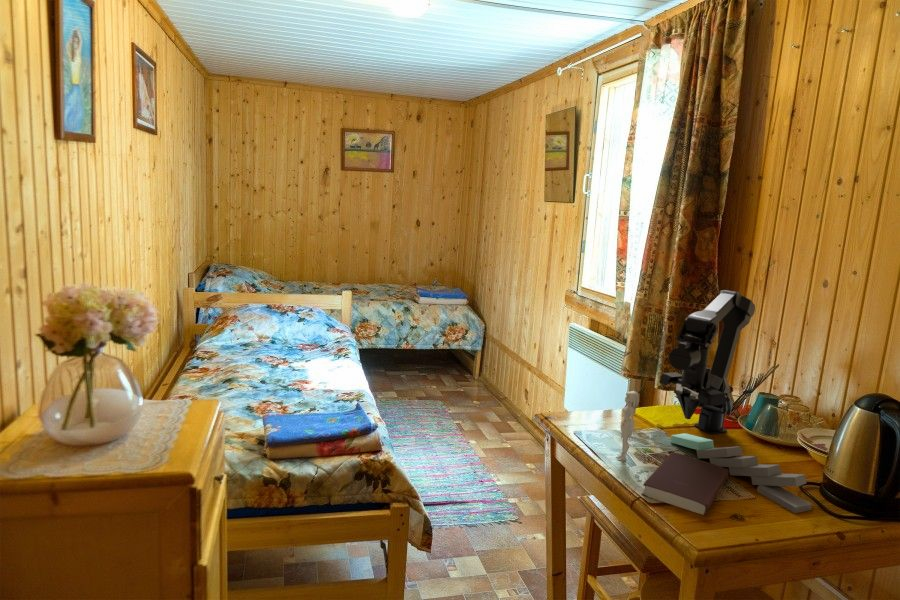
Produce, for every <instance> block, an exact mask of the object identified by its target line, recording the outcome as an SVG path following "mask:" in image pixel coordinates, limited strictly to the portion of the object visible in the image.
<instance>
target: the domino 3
mask: <svg viewBox="0 0 900 600" xmlns="http://www.w3.org/2000/svg"><path fill="white" fill-rule="evenodd" d="M728 470H729V475H730V476H741V477H742V476H743V477H744V476H745V477H751V476H765V477H769V476H773V475H777V474H782V470H781V465H780V464H761V463H758V465H755V466H749V467H744V468H739V467H728Z"/></svg>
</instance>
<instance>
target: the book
mask: <svg viewBox="0 0 900 600" xmlns="http://www.w3.org/2000/svg"><path fill="white" fill-rule="evenodd" d="M729 475H730V471H729V468H726V467H720V466H717V465H714V464H711V463H710V462H708V461H704V460H701V459H700V458H699V459H698V458H695V457H691V456H689V455H685V454H681V453H678V452H673V451H671V452H670V453H669V454H668V455H667V456H666V458H665V459H664V460H663V461H662V462H661V464H660V465H658V466H657V468H656V469H655V471H654V472H653V473H652V474H651V475H650V476H649V477H648V478H647V479H646V480H645V481H644V483H643V485H642V486H643V487H644V490H643V492H642V493H641V494H640V495H641V496H643V497H646V498H651V499H654V500H656V501H660V502H662V503H666V504H668V505H672V506H675V507H678V508H680V509H681V508H682V509H685V510H687V511H691V512H693V513H696V514H699V515H701V516H706V515H707V513H708V511H709V509H710V508H711V506H712V504H713V503H714V501H715V500H716V497H717V496H718V494H719V493H720V491H721V490H720V489H722V488H723V487H724V485H725V483H726V482H727V481H728V477H729Z"/></svg>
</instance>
